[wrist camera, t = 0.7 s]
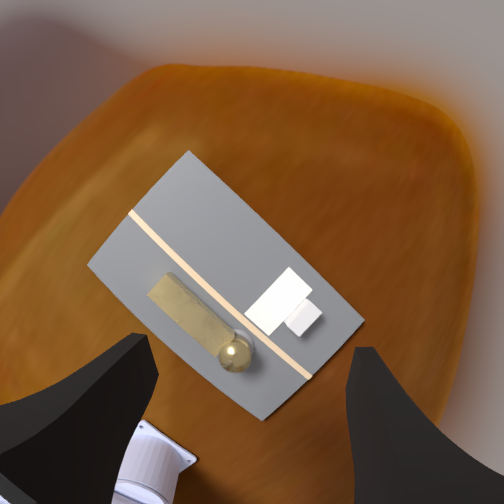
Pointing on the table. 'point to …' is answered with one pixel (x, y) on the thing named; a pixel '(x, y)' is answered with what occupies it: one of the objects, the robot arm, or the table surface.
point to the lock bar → (201, 323)
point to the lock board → (226, 284)
